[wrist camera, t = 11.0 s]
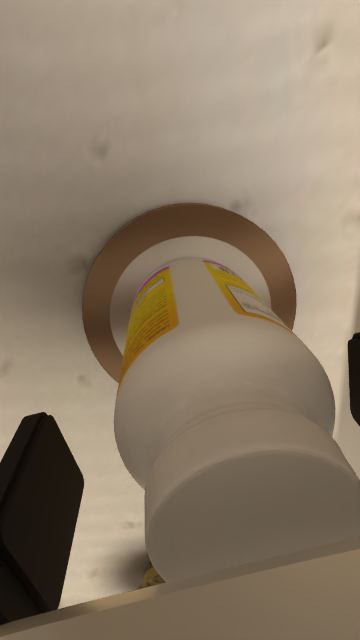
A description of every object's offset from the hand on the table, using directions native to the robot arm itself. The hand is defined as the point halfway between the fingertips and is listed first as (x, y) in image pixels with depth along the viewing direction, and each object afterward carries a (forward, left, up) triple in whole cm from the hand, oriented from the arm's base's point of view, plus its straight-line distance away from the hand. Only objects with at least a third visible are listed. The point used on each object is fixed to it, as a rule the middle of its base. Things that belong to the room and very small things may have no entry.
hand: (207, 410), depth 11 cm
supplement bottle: (0, 0, -9) cm, 9 cm away
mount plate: (+1, 0, -11) cm, 11 cm away
